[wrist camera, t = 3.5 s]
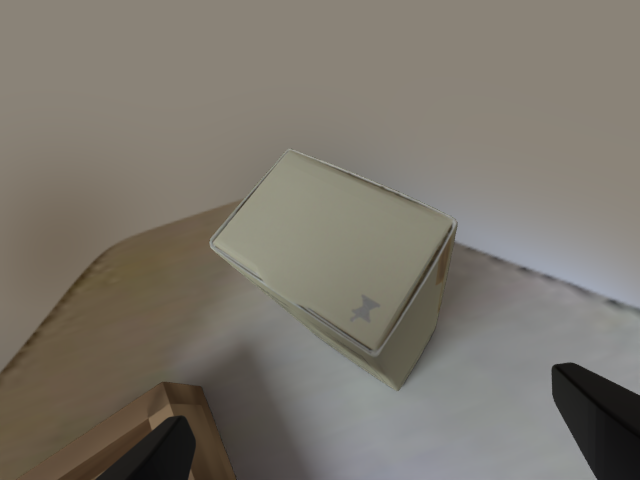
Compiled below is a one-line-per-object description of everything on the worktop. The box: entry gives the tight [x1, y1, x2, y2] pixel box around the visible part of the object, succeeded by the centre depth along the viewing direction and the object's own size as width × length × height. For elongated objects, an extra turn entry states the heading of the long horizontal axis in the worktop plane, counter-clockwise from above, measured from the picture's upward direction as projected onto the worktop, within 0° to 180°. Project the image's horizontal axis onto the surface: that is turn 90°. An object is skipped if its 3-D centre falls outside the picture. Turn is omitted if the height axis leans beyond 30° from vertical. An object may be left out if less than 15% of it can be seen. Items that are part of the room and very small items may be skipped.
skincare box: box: [210, 149, 457, 391], centre depth 15 cm, size 6×4×12 cm
